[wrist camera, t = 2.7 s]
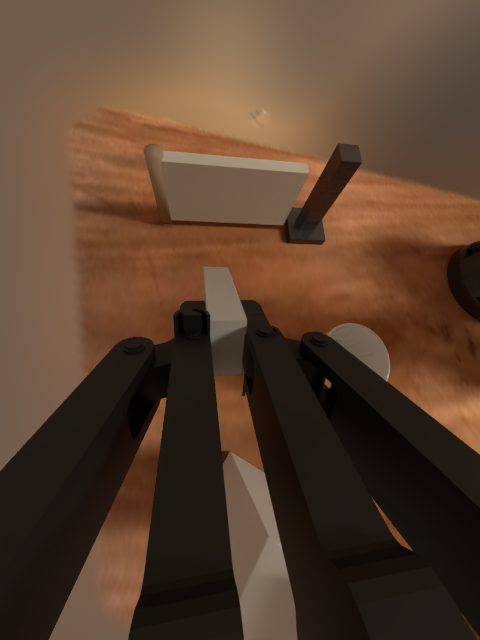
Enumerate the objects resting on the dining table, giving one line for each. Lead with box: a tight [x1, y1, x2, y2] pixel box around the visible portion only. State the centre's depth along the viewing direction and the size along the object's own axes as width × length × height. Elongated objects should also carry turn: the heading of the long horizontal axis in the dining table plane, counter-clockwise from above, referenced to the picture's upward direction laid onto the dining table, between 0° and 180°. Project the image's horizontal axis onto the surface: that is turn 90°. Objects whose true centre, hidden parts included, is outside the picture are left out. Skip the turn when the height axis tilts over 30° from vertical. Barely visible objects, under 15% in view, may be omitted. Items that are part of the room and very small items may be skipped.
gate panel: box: [144, 144, 309, 225], centre depth 33 cm, size 19×2×11 cm, turn 93°
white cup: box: [324, 323, 390, 388], centre depth 31 cm, size 8×8×10 cm
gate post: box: [285, 143, 362, 245], centre depth 35 cm, size 6×6×14 cm
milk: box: [223, 452, 298, 640], centre depth 20 cm, size 6×6×22 cm
